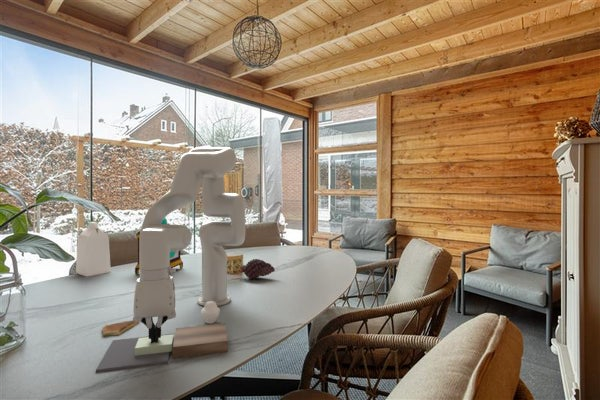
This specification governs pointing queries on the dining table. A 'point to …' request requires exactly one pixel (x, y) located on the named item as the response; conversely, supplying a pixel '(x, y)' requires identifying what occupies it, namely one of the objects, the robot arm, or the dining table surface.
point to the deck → (200, 340)
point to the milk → (93, 251)
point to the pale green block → (154, 345)
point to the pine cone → (257, 268)
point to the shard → (118, 328)
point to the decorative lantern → (174, 255)
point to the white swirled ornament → (210, 312)
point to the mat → (128, 356)
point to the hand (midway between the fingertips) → (154, 340)
